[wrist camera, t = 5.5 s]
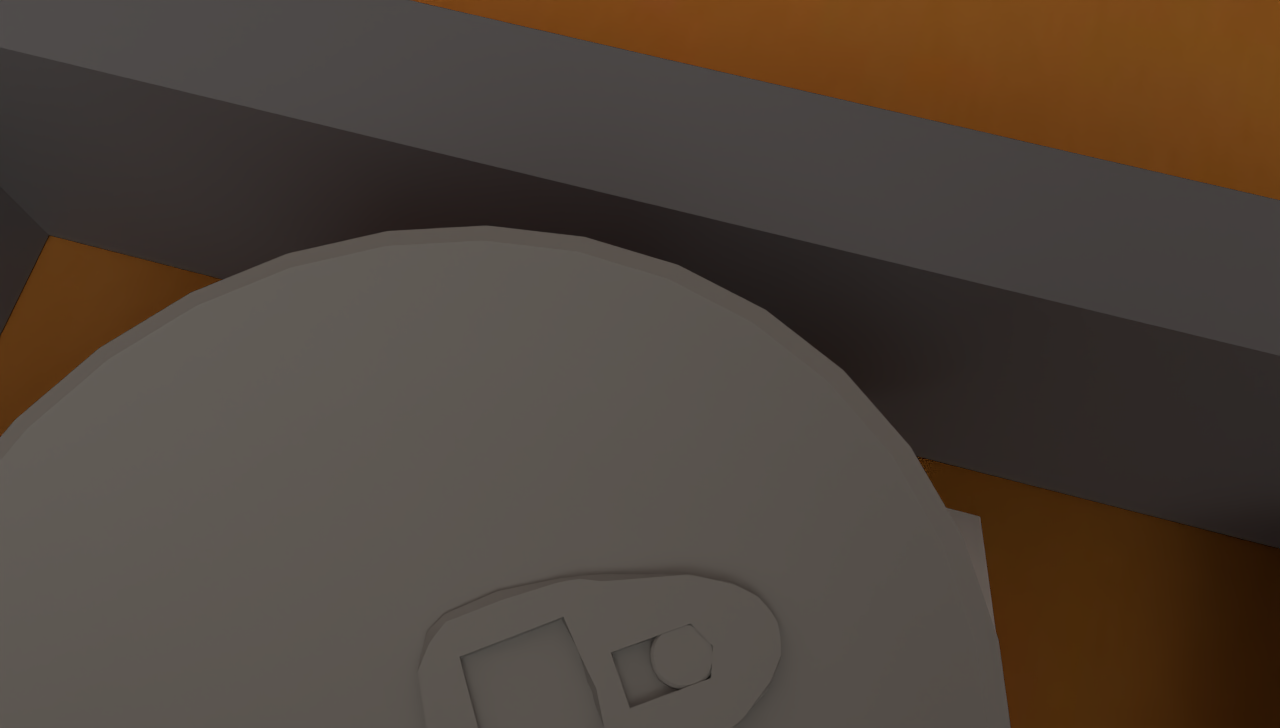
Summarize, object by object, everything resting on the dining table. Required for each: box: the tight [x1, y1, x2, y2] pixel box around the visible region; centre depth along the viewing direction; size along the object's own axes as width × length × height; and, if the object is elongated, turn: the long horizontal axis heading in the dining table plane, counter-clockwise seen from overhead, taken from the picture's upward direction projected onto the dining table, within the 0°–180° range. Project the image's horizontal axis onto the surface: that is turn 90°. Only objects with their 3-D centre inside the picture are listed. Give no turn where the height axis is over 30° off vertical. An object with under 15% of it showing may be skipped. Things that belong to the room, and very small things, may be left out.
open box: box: [0, 0, 1280, 549], centre depth 16 cm, size 26×16×6 cm, turn 75°
